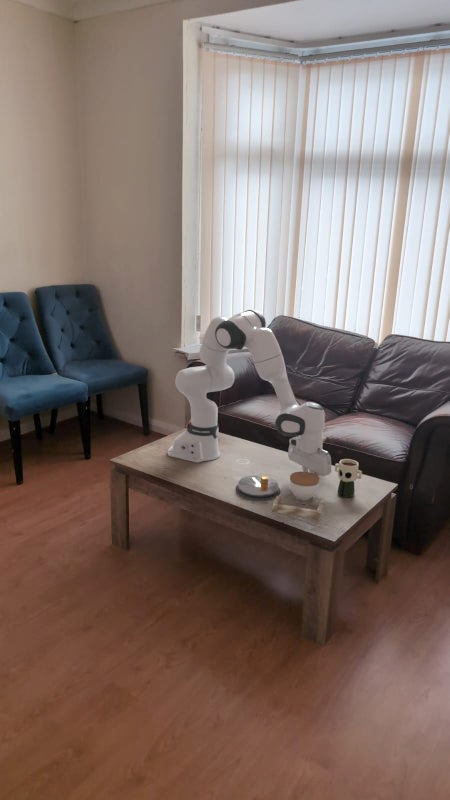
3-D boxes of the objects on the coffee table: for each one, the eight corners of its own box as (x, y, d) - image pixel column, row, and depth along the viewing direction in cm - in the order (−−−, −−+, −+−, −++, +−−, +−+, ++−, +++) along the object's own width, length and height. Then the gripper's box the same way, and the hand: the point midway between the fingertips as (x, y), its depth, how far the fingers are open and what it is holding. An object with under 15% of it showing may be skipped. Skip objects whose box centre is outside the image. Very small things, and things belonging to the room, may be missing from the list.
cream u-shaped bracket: (272, 511, 217) (272, 505, 216) (276, 501, 224) (276, 495, 223) (320, 519, 212) (320, 513, 212) (323, 509, 220) (323, 502, 219)
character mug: (328, 493, 232) (331, 461, 228) (337, 487, 238) (340, 455, 234) (354, 502, 226) (357, 469, 222) (363, 495, 231) (366, 463, 227)
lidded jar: (294, 504, 223) (296, 480, 220) (284, 491, 233) (286, 468, 230) (322, 501, 225) (324, 478, 223) (311, 489, 235) (313, 466, 232)
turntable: (232, 482, 237) (233, 465, 234) (268, 478, 241) (269, 462, 239) (246, 499, 223) (247, 482, 221) (284, 495, 228) (285, 477, 226)
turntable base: (230, 496, 227) (230, 495, 227) (241, 478, 242) (241, 477, 242) (275, 503, 222) (275, 503, 222) (284, 484, 238) (284, 483, 238)
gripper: (336, 451, 227) (333, 485, 231) (298, 434, 242) (296, 467, 247) (324, 455, 223) (321, 489, 227) (286, 438, 239) (284, 470, 243)
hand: (308, 478), depth 237 cm, fingers closed
